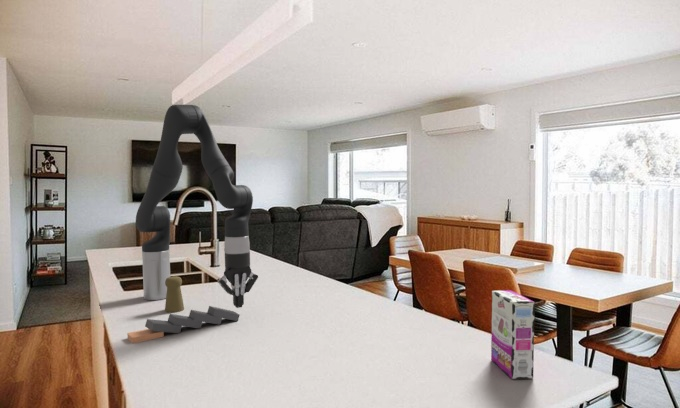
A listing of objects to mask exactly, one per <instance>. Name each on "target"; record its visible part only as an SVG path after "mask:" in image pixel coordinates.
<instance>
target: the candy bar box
mask: <svg viewBox="0 0 680 408" xmlns="http://www.w3.org/2000/svg"><path fill="white" fill-rule="evenodd" d="M535 304H536V303H535V301H533V300H531V299H529V298H528V297H526V296H524V295H522V294H520V293H517V292H516V291H513V290H510V289H500V290H498V289H497V290H492V291H491V341H490V342H491V345H490V346H491V348H490V349H491V353H490V354H491V355H490V357H491V359H490V360H491V361H492V362H493V363H494V364H495V365H496V366H497V367H498V368H499V369H500V370H501V371H502V372H503V373H505V374H506V375H507V376H508V377H509V378H510V379H512V380H530V379H531V380H532V379H534V354H535V350H534V349H535V344H534V343H535V342H534V341H535V306H536V305H535Z"/></svg>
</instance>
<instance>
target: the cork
mask: <svg viewBox="0 0 680 408" xmlns="http://www.w3.org/2000/svg"><path fill="white" fill-rule="evenodd" d="M182 284H183V280H182V278H181V277H180V276H175V275H174V276H170V277H168V278H167V279H166V281H165V285H166V287H167V294H166V298H165V304H164V305H165V306H164V312H165V313H169V314H175V313H179V312H182V311H184V310H185V306H184V305H185V304H184V301H183V300H184V299H183V294H182V293H183V292H182V289H181V286H182Z"/></svg>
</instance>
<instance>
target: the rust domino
mask: <svg viewBox="0 0 680 408" xmlns="http://www.w3.org/2000/svg"><path fill="white" fill-rule="evenodd" d="M164 334H165V332H159V331H151V330H150V329H148V328H146V329H141V330H137V331H136V330H135V331H131V332H127V334H126V335H127V339H128V340H129V342H131V343H132V344H136V343H141V342H145V341H149V340H154V339H159V338H163V337H164Z"/></svg>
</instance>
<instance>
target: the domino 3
mask: <svg viewBox="0 0 680 408" xmlns="http://www.w3.org/2000/svg"><path fill="white" fill-rule="evenodd" d="M188 317H190V318H192V319H193V320H195V321H201V322H202V323H206V324H207V323H208V324H213V325H219V326H221V324H222V320H223V318H220V317H215V316H212V315H211V314H209V313H207V312H205V311H201V310H196V309H195V310H193V309H190V310H189V314H188Z"/></svg>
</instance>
